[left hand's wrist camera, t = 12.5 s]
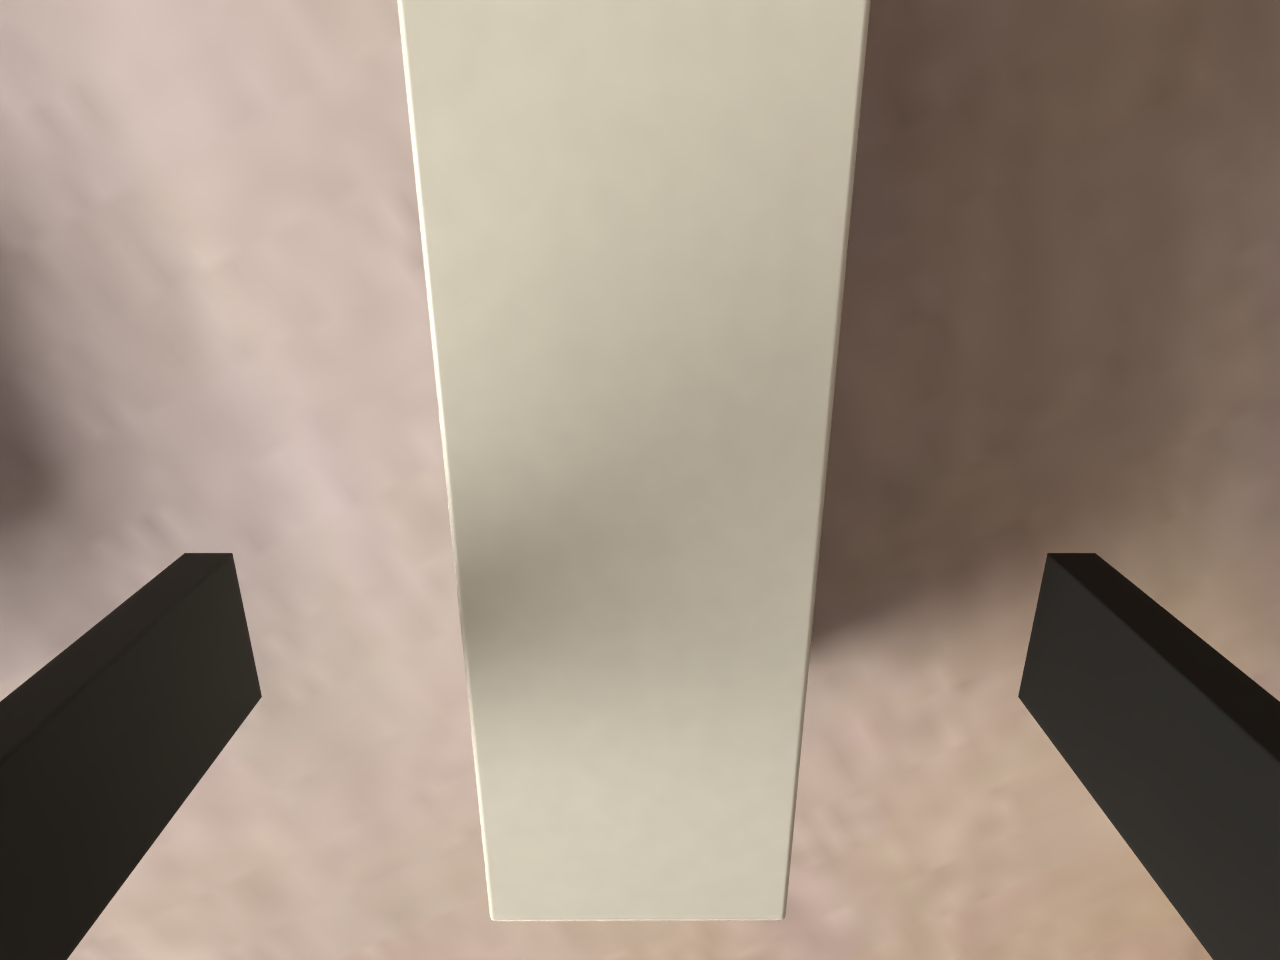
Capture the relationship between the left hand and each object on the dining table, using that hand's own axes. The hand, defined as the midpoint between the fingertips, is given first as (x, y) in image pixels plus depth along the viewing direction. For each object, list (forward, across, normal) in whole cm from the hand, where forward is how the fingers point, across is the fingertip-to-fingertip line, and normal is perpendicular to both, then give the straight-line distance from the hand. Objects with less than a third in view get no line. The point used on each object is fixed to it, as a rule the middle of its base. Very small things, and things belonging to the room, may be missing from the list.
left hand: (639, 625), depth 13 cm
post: (+5, 0, -31) cm, 31 cm away
